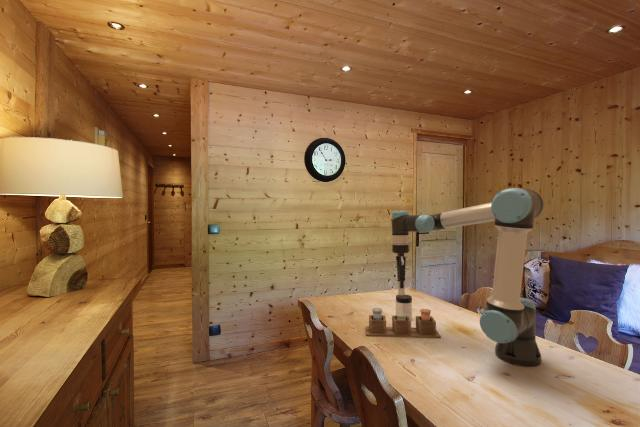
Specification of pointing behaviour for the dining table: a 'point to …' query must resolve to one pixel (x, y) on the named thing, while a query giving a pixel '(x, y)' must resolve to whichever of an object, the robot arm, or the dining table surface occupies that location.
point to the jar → (404, 305)
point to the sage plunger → (401, 316)
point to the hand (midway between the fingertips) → (401, 294)
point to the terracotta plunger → (425, 314)
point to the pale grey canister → (377, 313)
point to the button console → (402, 328)
